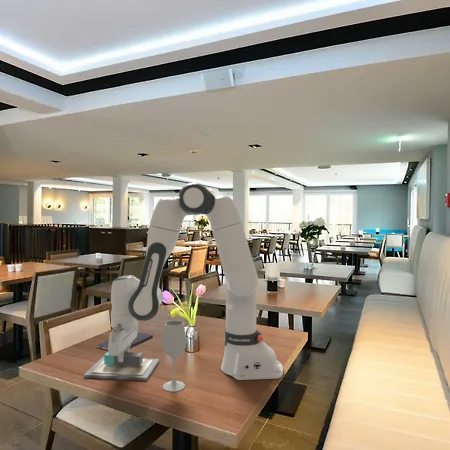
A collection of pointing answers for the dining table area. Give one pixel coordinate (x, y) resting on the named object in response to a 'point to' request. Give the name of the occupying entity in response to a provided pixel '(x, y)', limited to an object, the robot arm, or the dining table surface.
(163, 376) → the dining table surface
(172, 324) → the wineglass
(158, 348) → the dining table surface
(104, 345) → the notebook
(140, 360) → the marker
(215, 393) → the dining table surface
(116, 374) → the notepad
